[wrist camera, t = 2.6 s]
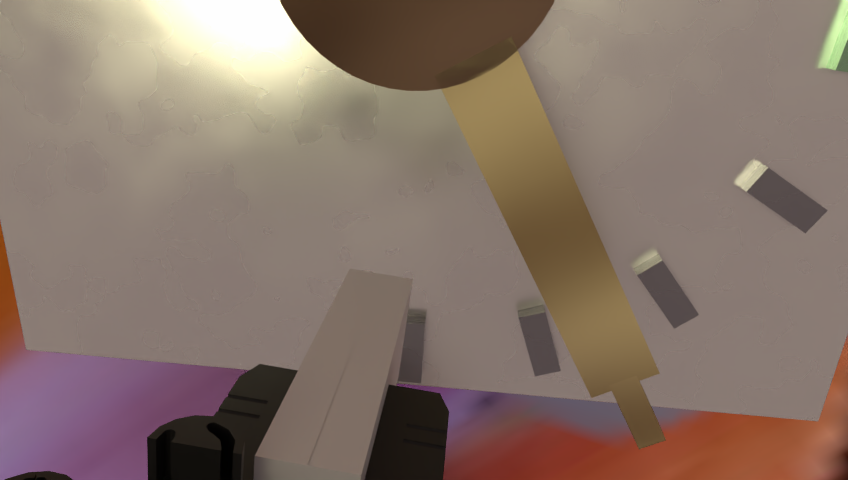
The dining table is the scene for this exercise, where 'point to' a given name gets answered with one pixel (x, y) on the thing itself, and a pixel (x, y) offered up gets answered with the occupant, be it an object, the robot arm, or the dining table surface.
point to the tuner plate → (430, 193)
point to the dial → (503, 161)
